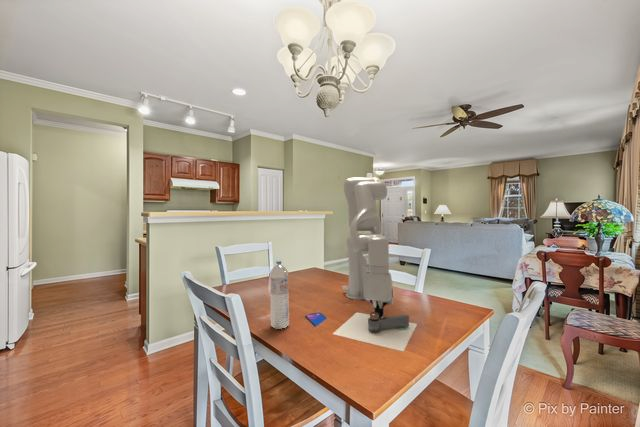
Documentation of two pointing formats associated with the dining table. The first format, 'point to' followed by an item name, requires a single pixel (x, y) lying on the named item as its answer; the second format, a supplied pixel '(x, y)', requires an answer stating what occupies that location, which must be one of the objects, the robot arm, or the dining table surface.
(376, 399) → the dining table surface
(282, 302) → the water bottle
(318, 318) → the smartphone
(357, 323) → the dial plate
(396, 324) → the grey lever handle
